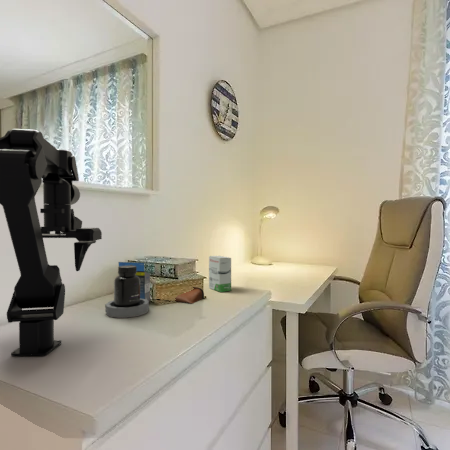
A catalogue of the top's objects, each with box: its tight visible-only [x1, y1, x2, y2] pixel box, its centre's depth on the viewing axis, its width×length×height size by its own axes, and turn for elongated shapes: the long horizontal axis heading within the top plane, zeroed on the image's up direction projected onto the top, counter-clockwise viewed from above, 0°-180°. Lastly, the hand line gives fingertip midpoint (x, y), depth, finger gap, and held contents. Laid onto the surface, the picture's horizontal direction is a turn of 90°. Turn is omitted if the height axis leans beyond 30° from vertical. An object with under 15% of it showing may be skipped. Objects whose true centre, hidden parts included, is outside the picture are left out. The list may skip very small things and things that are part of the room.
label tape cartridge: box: [118, 261, 151, 302], centre depth 101 cm, size 9×4×12 cm, turn 76°
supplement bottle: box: [113, 265, 140, 307], centre depth 90 cm, size 7×7×12 cm
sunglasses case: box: [175, 286, 205, 305], centre depth 105 cm, size 18×7×7 cm
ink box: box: [208, 255, 232, 293], centre depth 118 cm, size 9×5×12 cm, turn 30°
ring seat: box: [104, 298, 150, 319], centre depth 90 cm, size 11×11×2 cm
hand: (58, 270), depth 78 cm, fingers open, 9 cm apart
